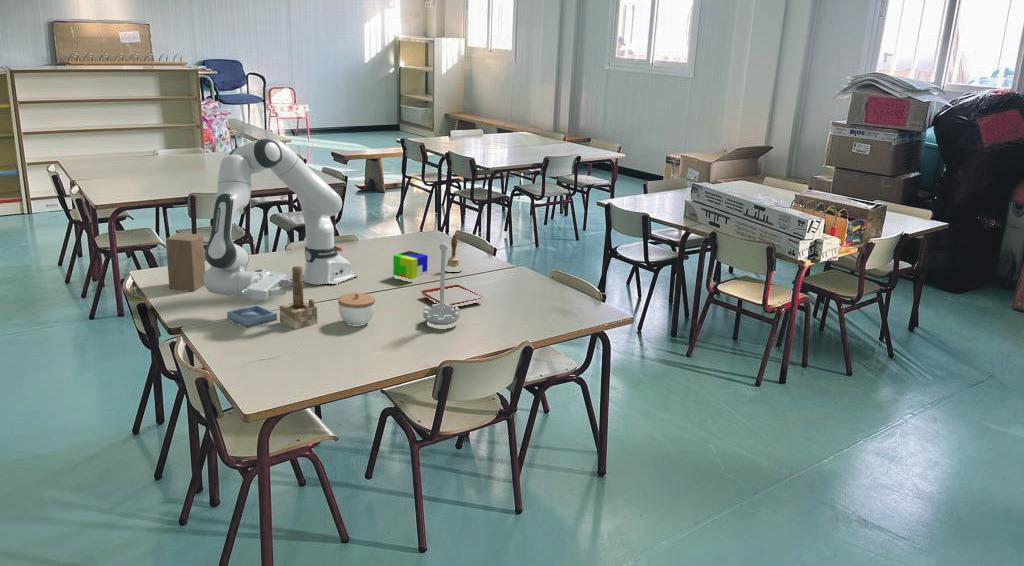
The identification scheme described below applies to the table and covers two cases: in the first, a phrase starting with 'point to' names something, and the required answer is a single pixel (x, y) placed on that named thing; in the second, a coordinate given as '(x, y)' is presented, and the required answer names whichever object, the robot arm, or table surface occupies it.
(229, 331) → the table surface
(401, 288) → the table surface
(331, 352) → the table surface
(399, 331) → the table surface
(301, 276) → the dowel
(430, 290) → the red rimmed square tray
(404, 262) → the puzzle toy
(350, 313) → the lidded bowl
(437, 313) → the flag stand
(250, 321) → the tray
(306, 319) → the block
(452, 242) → the hand bell
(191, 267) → the wooden block
